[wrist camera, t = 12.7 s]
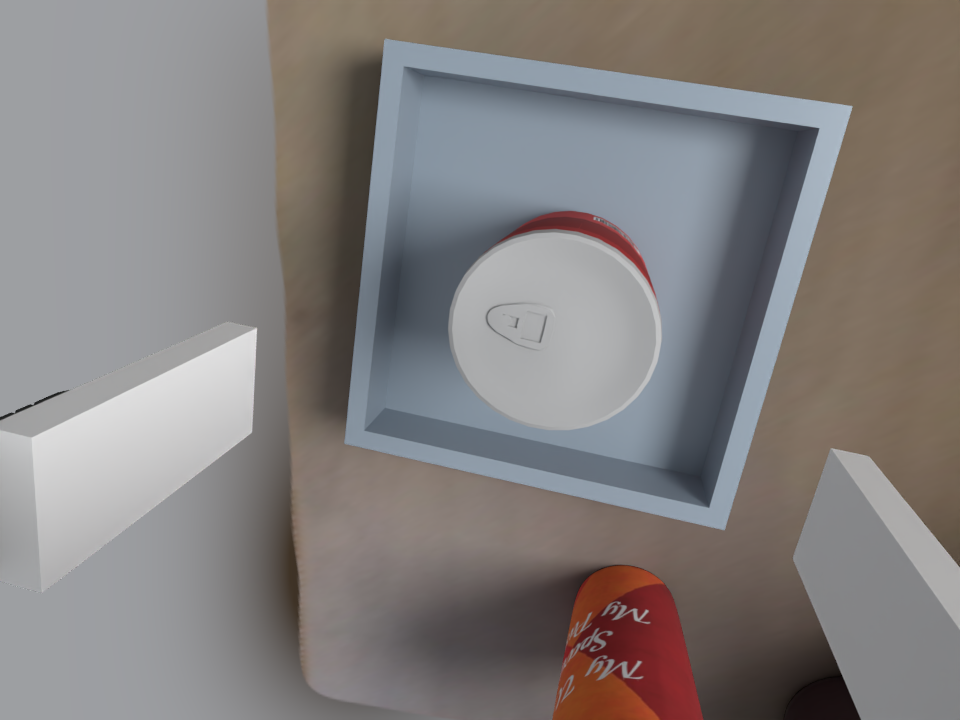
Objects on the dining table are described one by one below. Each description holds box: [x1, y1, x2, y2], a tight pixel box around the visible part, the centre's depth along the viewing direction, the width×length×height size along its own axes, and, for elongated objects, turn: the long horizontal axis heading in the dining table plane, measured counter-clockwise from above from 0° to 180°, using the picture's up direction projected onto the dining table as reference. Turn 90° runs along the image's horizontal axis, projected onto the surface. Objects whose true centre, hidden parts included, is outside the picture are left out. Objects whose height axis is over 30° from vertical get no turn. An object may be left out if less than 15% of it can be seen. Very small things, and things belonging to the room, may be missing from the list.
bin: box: [344, 39, 853, 530], centre depth 34 cm, size 20×20×4 cm
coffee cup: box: [552, 565, 703, 720], centre depth 34 cm, size 8×8×15 cm
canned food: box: [448, 211, 662, 430], centre depth 30 cm, size 8×8×11 cm
